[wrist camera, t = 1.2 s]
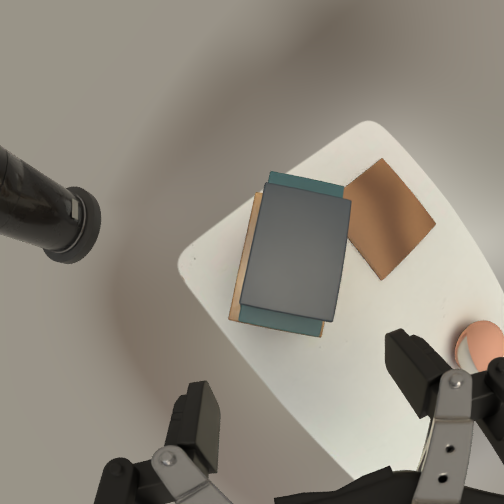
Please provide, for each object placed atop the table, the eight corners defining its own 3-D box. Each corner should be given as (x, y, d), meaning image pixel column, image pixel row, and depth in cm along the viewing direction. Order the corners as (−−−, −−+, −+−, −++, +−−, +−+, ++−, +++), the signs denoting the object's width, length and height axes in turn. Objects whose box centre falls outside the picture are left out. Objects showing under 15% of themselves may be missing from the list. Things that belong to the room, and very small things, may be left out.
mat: (381, 280, 33) (382, 279, 32) (321, 206, 35) (322, 205, 34) (434, 224, 34) (436, 223, 33) (380, 159, 36) (382, 157, 35)
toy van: (311, 330, 20) (338, 345, 12) (239, 315, 20) (222, 323, 13) (332, 213, 21) (364, 167, 14) (264, 199, 22) (263, 145, 14)
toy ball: (436, 352, 31) (470, 360, 23) (465, 308, 31) (500, 307, 24) (461, 382, 30) (493, 393, 22) (487, 340, 30) (521, 344, 22)
